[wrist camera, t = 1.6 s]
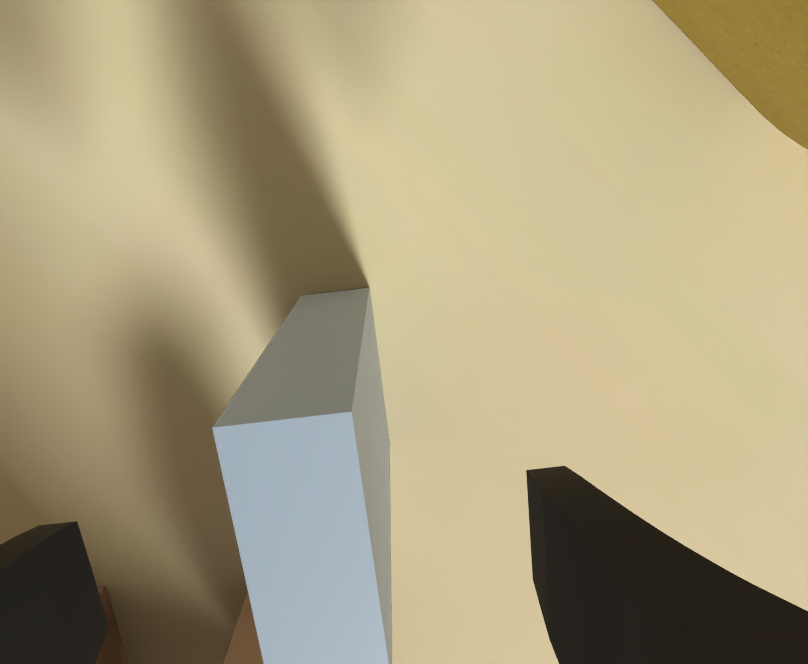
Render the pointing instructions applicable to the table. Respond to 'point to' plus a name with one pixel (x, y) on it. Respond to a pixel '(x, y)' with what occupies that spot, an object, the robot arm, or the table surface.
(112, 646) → the domino
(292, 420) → the blue domino
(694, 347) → the table surface
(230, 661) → the domino
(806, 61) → the flower pot
